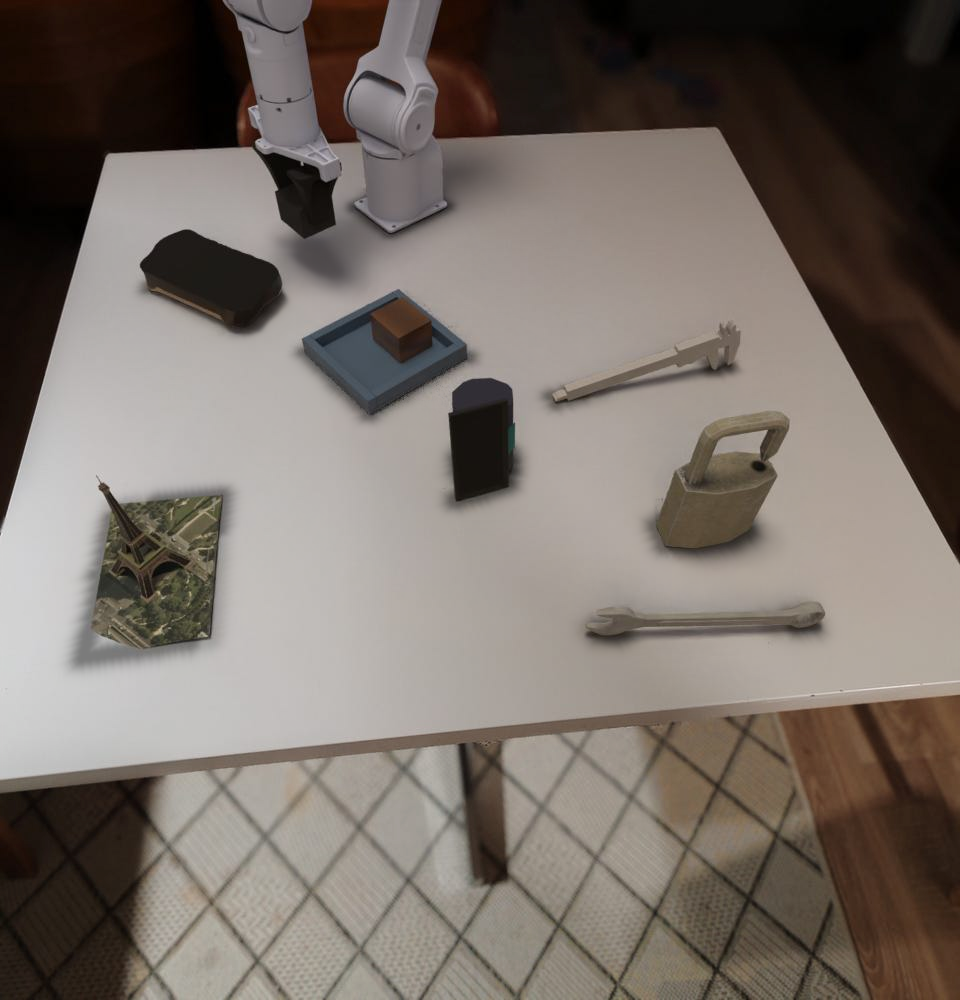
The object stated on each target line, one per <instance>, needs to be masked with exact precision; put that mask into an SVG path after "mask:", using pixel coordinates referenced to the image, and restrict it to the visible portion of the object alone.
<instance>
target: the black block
mask: <svg viewBox="0 0 960 1000" xmlns="http://www.w3.org/2000/svg"><path fill="white" fill-rule="evenodd" d="M274 196H275V199H276V204H277V208H278V214H279V219H280V221H282V222H283V223H284V224H286V226H288V227H289V228H290V229H292V230H293V232H295V233H296V234H297V235H299V236H300V237H301V238H302V239H303V240H306V239H309V238H311V237H313V236H315V235H317V234H319V233H321V232H324V231H326V230H328V229H330V228H333V227H334V226H336V225H337V221H336V214H335V207H334V200H333V198H332V199H331V207H330V216H329V221H327V222H325V223H322V224H320V225H318V226H316V227H314V226H313V225H312V224H311V223H310V221H309V219H308V216H307V214H306V211H305V207H304V204H303V201H302V198H301V196H300V193H299V191H298V190H297V188H296V186H295V184H291V185H289V186H286V187H284V188H282V189H279V190H278V189H276V190H274Z"/></svg>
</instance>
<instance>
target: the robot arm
mask: <svg viewBox="0 0 960 1000" xmlns="http://www.w3.org/2000/svg"><path fill="white" fill-rule="evenodd" d="M222 2H223V3H224V5H225V6H226V7H227V8H228V9H229V10H230V12H232V13H233V14H234V17H235V20H236V24H237V29H238V31H240V32H241V36H242V39H243V43H244V49H245V53H246V58H247V62H248V67H249V72H250V77H251V81H252V86H253V90H254V95H255V99H256V103H257V104H256V105H253V106H250V107H247V112H248V115H249V116H248V117H249V121H250V125H251V127H252V128H254V129H257V130H258V132H259V134H260V138H258V139H256V140H254V141H252V142H251V147H252V150H254V152H255V153H256V154H257V155H258V156H259V158H260V160H261V161H262V162H263V163H264V166H265V167H266V169H267V170H268V172H269V174H270V176H271V177H272V180H273V182H274V184H275V186H276V188H277V190H279V189H282V188H284V187H286V186H289V185H291V184H295V186H296V188H297V190H298V191H299V193H300V196H301V198H302V201H303V204H304V207H305V211H306V214H307V216H308V219H309V221H310V223H311V224H312V225H313V226H314V227H316V226H318V225H320V224H322V223H325V222H327V221H329V216H330V207H331V199H332V200H333V193H334V189H335V186H336V184H337V181H338V179H339V177H342V171H343V166H342V162H341V161H340V158H339V157H338V156H337V155H336V154H335V153H334V152H333V150H332V148H331V146H330V144H329V142H328V141H327V139H326V136H325V135H324V132H323V130H322V128H321V127H320V125H319V120H318V114H317V108H316V107H317V106H316V100H315V95H314V87H313V81H312V76H311V69H310V64H309V62H310V61H309V56H308V49H307V43H306V37H305V29H304V23H303V22H304V21H305V20H307V19H308V17H309V15H310V12H311V8H312V3H313V0H222ZM442 2H443V0H388V5H387V9H386V14H385V18H384V22H383V27H382V30H381V35H380V39H379V43H378V46H376V47H375V48H374V49H372V50H370V51H368V52H367V53H365V54H364V55H362V56H361V57H359V59H358V62H357V65H356V69H355V73H354V75H353V77H352V78H351V80H350V81H349V84H348V85H347V88H346V90H345V92H344V97H343V106H342V107H343V114H344V118H345V120H346V122H347V123H348V124H349V126H350V127H352V128H353V129H355V132H356V140H359V141H360V144H361V153H362V163H363V172H364V173H363V174H364V181H365V191H366V196H365V197H363V198H361V199H359V200H357V201H355V202H354V203H353V204H354V205H353V206H354V207H355V208H356V209H357V210H358V211H360V212H361V213H362V214H364V215H365V216H366V217H368V218H369V219H370V220H372V221H373V222H374V223H375V224H377V225H378V226H380V227H381V228H382V229H384V231H386V232H387V233H390V234H393V233H396V232H397V231H399V230H402V229H404V228H406V227H408V226H410V225H412V224H414V223H416V222H418V221H420V220H423V219H424V218H426V217H429V216H431V215H433V214H435V213H437V212H439V211H441V210H444V209H445V208H447V207H448V202H447V201H446V200H445V199H444V173H443V171H444V170H443V154H442V151H441V148H440V145H439V143H438V140H437V139H436V137H435V136H434V135H433V132H434V129H435V121H436V114H435V112H436V102H437V98H438V96H439V95H438V94H439V88H438V87H437V84H436V82H435V80H434V79H433V76H432V75H431V73H430V71H429V69H428V68H427V64H426V61H427V58H428V53H429V51H430V47H431V42H432V38H433V35H434V31H435V27H436V23H437V21H438V20H437V19H438V16H439V12H440V9H441V5H442ZM388 80H390V81H393V82H394V83H397V84H399V85H400V86H401V87H400V86H398V85H396V84H394V83H392V82H390V81H388Z"/></svg>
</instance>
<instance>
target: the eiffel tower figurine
mask: <svg viewBox="0 0 960 1000" xmlns="http://www.w3.org/2000/svg"><path fill="white" fill-rule="evenodd" d="M95 478H97V480H98V482H99V485H97V487H98V490H99V491H100V492H101V493H102V494H103V496H104V498H105V500H106V502H107V504H108V506H109V508H110V510H111V513H110V519H109V524H108V530H107V536H106V542H105V547H104V551H103V557H102V562H101V563H102V564H101V570H100V573H99V581H98V586H97V591H96V597H95V602H94V609H93V613H92V614H93V615H92V620H91V626H90V630H92V631H93V632H95V634H97V635H99V636H101V637H104V638H106V639H107V640H111V641H114V642H115V643H118V644H121V645H125V646H128V647H132V648H136V649H139V650H144V649H148V648H149V649H150V648H153V647H158V646H162V645H167V644H172V643H176V642H182V641H189V640H196V639H201V638H207V637H211V625H212V624H211V621H212V613H213V610H212V609H213V602H214V591H215V590H214V589H215V577H216V576H215V575H216V561H217V551H218V550H217V549H218V548H217V547H218V539H219V538H218V537H219V530H220V529H219V527H220V519H221V511H222V502H223V494H216V495H206V496H205V495H204V496H197V497H196V496H195V497H194V496H193V497H183V498H171V499H162V500H161V499H160V500H159V499H158V500H152V501H151V500H148V501H138V502H127V503H119V501H118V500H117V499H116V498H115V496H114V494H112V492H111V490H110V488H111V487H110V486H108V484H107V483H105V482H102V481H101V480H100V478H99V477H98V475H95Z"/></svg>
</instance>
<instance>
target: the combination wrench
mask: <svg viewBox="0 0 960 1000" xmlns="http://www.w3.org/2000/svg"><path fill="white" fill-rule="evenodd" d="M596 616H598V617H601V618H606V619H611V620H609V621H607V622H600V621H599V622H597V621H596V622H595V621H593V622H590V621H589V622H586V623H585V628H586V629H588V630H589V631H591V632H593V633H596V634H598V635H601V636H614V635H618V634H622V633H624V632H627V631H629V630H634V629H640V628H665V627H666V628H667V627H669V628H671V627H676V628H677V627H722V626H723V627H724V626H725V627H727V626H729V627H730V626H732V627H733V626H774V625H775V626H780V625H782V626H792V627H795V628H806V627H810V626H813V625H815V624H817V623H819V622H821V621H822V620H823V619H824V618H825V616H826V610H825V609H824V607H823V605H822V603H820V602H818V601H808V602H803V603H800V604H798V605H796V606H794V607H792V608H789V609H784V610H764V611H758V610H757V611H724V612H723V611H722V612H721V611H720V612H690V613H689V612H687V613H685V612H683V613H649V614H648V613H640V612H635V611H634V610H633V609H631V608H629V607H625V606H612V607H605V608H600V609H596Z"/></svg>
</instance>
